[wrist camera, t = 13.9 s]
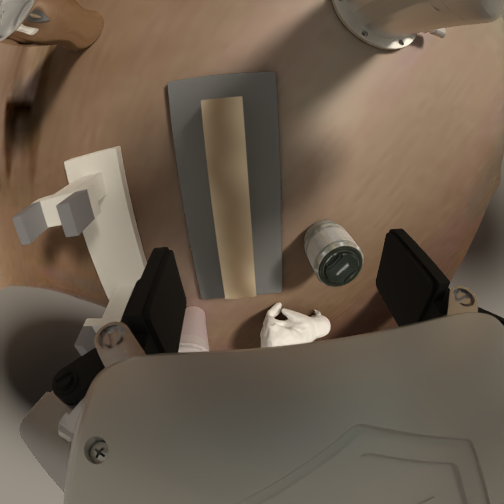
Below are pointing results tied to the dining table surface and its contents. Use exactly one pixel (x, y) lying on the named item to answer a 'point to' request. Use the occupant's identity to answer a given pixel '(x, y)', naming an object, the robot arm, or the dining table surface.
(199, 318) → the smoothie
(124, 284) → the hook stand
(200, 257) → the mat
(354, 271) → the camera lens
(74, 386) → the robot arm
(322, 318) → the white animal figurine
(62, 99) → the dining table surface
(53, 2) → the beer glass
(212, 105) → the rail
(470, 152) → the dining table surface
